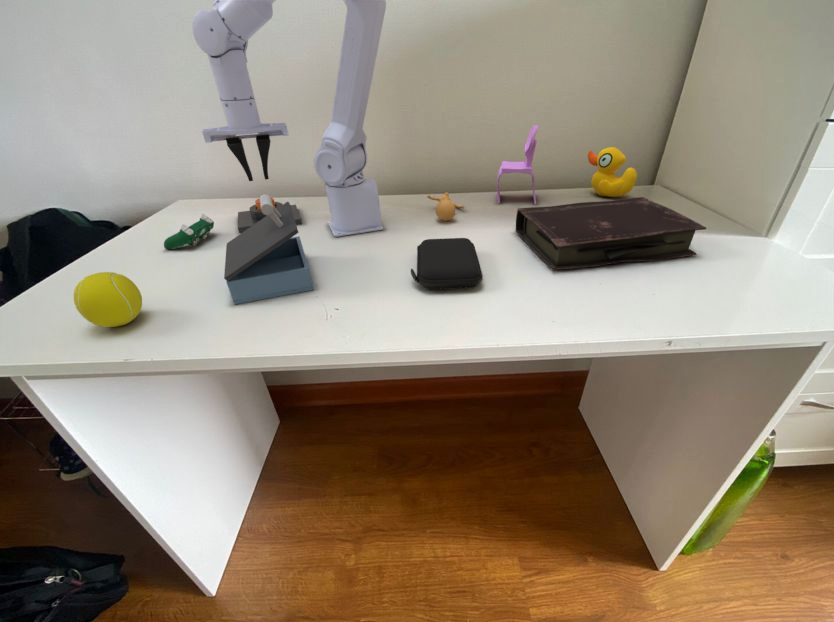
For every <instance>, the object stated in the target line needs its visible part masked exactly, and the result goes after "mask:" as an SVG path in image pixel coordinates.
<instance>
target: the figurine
mask: <svg viewBox="0 0 834 622" xmlns="http://www.w3.org/2000/svg"><path fill="white" fill-rule="evenodd" d="M426 198H428V199H430V200H431V201H437V202H438V203H436V206H435V214H436V216H437V218H438V219H439V220H441V221H444V222H445V221H446V222H447V221H450V220H452V219H453V218H454V217H455V214H456V208H459V209H464V210H465V207H464V206H463V205H459V204H457V203H455V202H453V200H452V199H451V198H450V195H449V192H448V191H446V192H444V194H443V195H442V196H439V197H436V196H430V195H427V196H426Z"/></svg>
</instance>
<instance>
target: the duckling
mask: <svg viewBox="0 0 834 622" xmlns="http://www.w3.org/2000/svg"><path fill="white" fill-rule="evenodd" d="M597 154H598V155H597ZM597 154H595V153H594V152H593V150H589V151H588V153H587V161H588V162H589V164H590V165H592V166H593V167H594V166H595V167H597V169H598V170H597V171H596V172H595V173H594V174H593V175H592V177H591V187H592V189H593V190H594V191H595V193H596V194H597V195H599V196H601V197H607V198H617V197H623V196H625V195H627V194H629V193H630V192H631V191H632V190H633V188H634V187H635V184H636V181H637V178H638V174H637V171H636V169H635V168H634V167H628V168H626V170H625V171H624V173H623V174H622V176H617V175H616V174H615V172H617V171H618V170H619V169H621V168H620V167H622V166H623V165H624V164H625V162H626V160H627V157H626V155H625V154H624V153H622V151H621V150H620V149H619V148H617V147H614V146H610V147H606V148H603V149H602V150H600V151H599V153H597Z"/></svg>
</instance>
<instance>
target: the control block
mask: <svg viewBox="0 0 834 622" xmlns="http://www.w3.org/2000/svg"><path fill="white" fill-rule="evenodd" d="M274 202H275V206H276V207H275V208H276V209H277V208H279V207H280V206H282V205H283V203H282V202H280V201H274ZM290 206H291V209H292V212H293V216H294V219H295V222H296V226H299V225H300V226H301V225H303V223H302V219H301V216H300V212H299V209H298V207H297V205H296V204H290ZM266 216H267V215H264V214H263V213H262V211H261V210H257V206H256V203H255V204H253V205H252V206H249V210H243V211H238V212H237V230H238V233H239V234H241V233H242V232H244V231H245V230H247V229H248V228H250V227H251V226H253V225H254V224H256V223H257V222H259V221H260V220H261V219H263V218H264V217H266Z"/></svg>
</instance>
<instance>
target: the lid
mask: <svg viewBox="0 0 834 622" xmlns="http://www.w3.org/2000/svg"><path fill="white" fill-rule="evenodd" d="M259 198H260V205H261V211H262V213H263V214H264V215H267V216H266V217H264V218H263V219H261V220H260V221H259V222H257V223H256V224H254V225H253V226H251V227H250V228H248V229H247V230H245V231H244V232H242V233H239V234H238V235H236V236H235V237H234V238H232V239H231V240H229V241H228V242H226V245H225V247H226V248H225V262H224V275H223V276H224V277H223V279H224V280H225V281H226V282H227V281H228V280H230V279H231V278H233V277H234V276H236V275H237V274H239V273H240V272H242V271H243V270H245V269H246V268H247V267H249V266H250V265H252V264H253V263H255V262H256V261H258V260H259V259H261V258H262V257H264V256H265V255H267V254H268V253H269V252H271V251H272V250H274V249H275V248H277V247H278V246H280V245H281V244H283V243H284V242H286V241H287V240H288V239H290V238H291V237H295V236H296V235H297V234H299V230H298V229H299V228H298V225H296V222H295V219H294V216H293V212H292V209H291V206H290V205H291V203H290V202H289V201H286V202H285V203H284V204H283V203H282V204H283V205H282V206H280V207H279V208H277V209H276V208H275V207H274V206H273V205H272V200H271V198H272V196H270V195H269V194H266V193H263V194H261V195H260V197H259Z"/></svg>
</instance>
